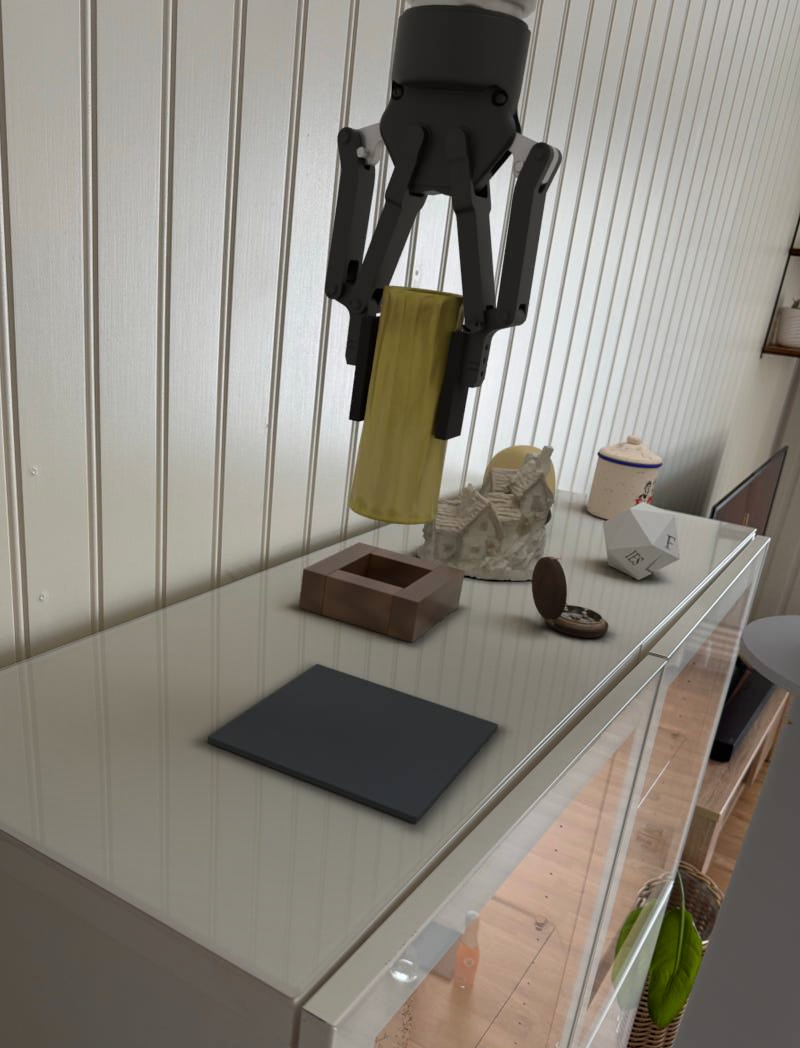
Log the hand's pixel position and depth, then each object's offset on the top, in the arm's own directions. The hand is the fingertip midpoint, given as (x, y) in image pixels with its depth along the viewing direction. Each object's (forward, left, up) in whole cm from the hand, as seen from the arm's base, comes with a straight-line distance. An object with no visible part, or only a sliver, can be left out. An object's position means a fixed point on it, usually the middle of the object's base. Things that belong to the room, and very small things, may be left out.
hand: (404, 426), depth 63 cm
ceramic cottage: (+7, -48, -23) cm, 53 cm away
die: (-9, -58, -23) cm, 63 cm away
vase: (0, 0, -6) cm, 6 cm away
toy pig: (+9, -67, -23) cm, 71 cm away
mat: (-1, +1, -23) cm, 23 cm away
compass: (-7, -34, -23) cm, 41 cm away
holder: (+9, -24, -23) cm, 34 cm away
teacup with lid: (-1, -86, -23) cm, 89 cm away
